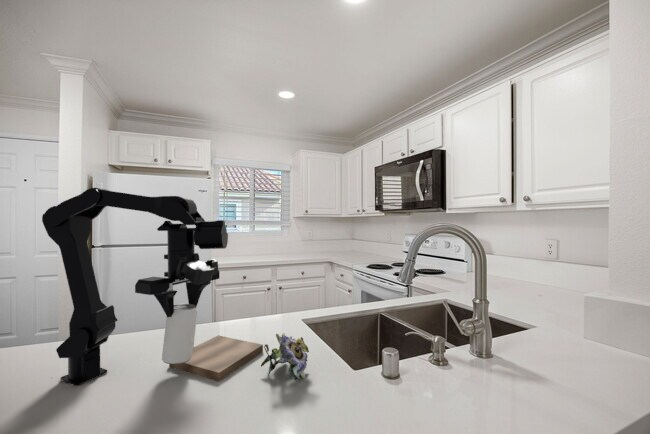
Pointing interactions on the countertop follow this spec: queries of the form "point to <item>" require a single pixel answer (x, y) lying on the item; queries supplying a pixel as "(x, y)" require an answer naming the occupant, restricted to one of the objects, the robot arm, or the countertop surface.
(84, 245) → the robot arm
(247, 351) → the cutting board
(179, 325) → the can
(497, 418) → the countertop surface
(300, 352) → the passion flower
